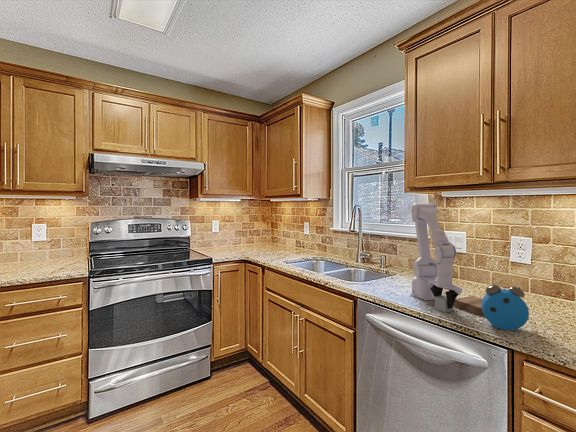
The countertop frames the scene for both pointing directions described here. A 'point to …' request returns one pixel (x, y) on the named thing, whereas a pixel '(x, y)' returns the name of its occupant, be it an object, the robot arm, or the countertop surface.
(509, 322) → the alarm clock
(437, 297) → the slate cube
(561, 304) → the countertop surface
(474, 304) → the walnut base
